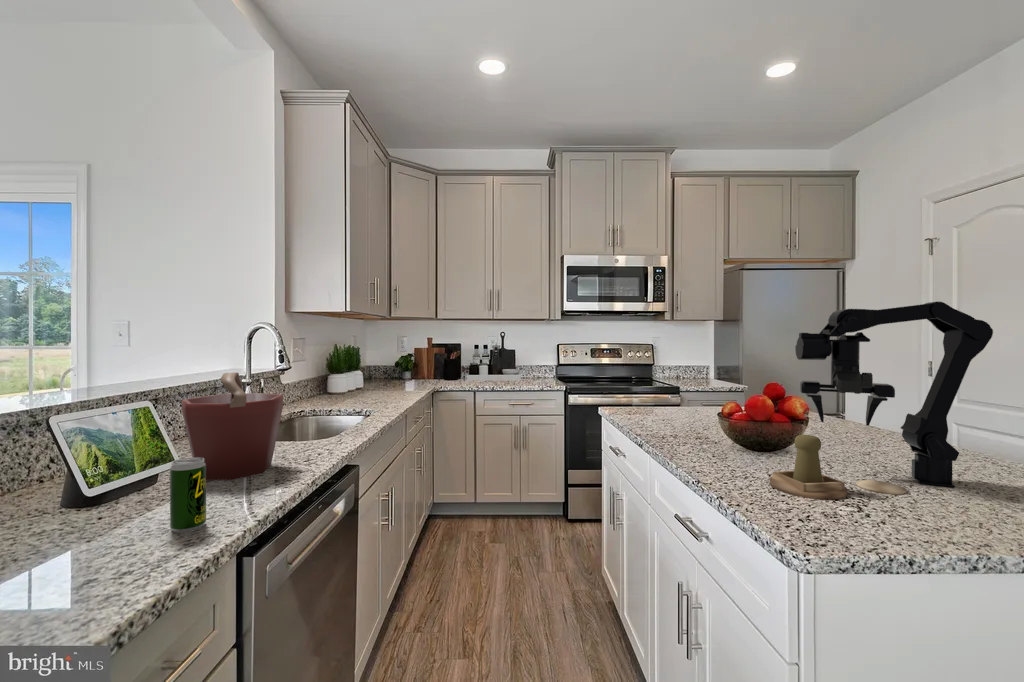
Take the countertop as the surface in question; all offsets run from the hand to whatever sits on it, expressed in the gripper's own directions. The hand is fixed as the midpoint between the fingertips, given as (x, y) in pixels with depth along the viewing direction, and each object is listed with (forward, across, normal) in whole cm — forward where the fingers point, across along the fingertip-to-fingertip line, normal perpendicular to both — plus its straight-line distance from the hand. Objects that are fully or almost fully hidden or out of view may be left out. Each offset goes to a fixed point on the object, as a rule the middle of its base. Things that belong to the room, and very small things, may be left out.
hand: (844, 423), depth 119 cm
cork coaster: (+13, +6, -7) cm, 16 cm away
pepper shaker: (+12, -9, -15) cm, 21 cm away
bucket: (+13, -138, -66) cm, 154 cm away
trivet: (+13, -9, -15) cm, 22 cm away
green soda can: (+13, -110, -92) cm, 144 cm away
